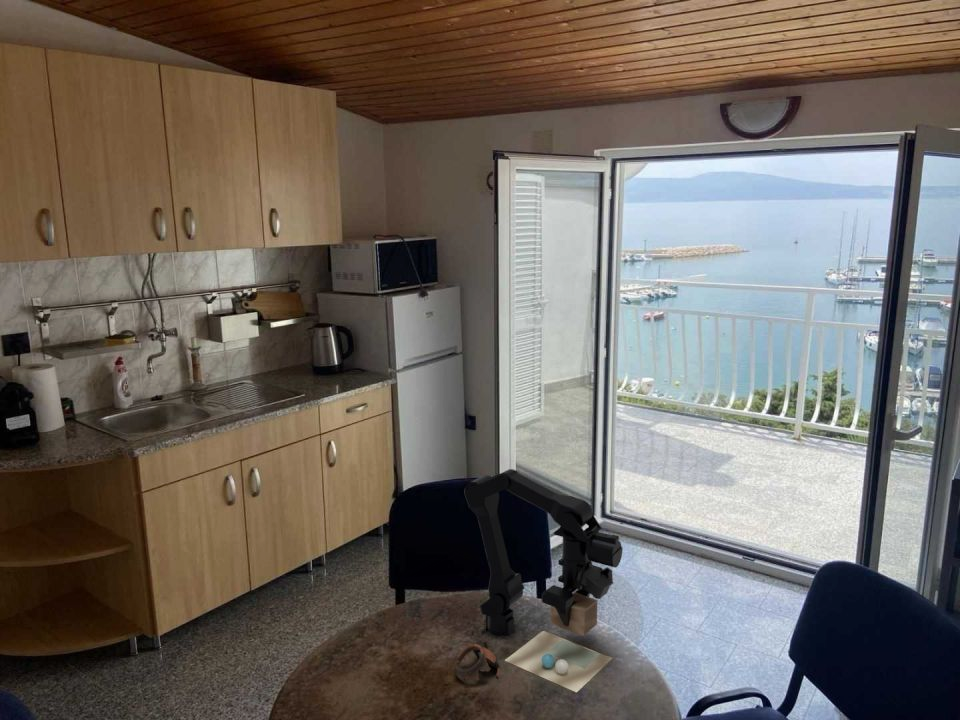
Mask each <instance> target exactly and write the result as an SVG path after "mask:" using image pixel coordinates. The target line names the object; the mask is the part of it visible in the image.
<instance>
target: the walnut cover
mask: <svg viewBox="0 0 960 720" xmlns="http://www.w3.org/2000/svg"><path fill="white" fill-rule="evenodd" d="M573 595H574V601H575V602H577V603H576V604H575V605H573V606H572V607H571V614H570V621H569V626H565V625H563V623H562V620H561V618H560V616H559V614H558V612H557V610H556V608H555V607H553V606H550V624H551V625H554V626H557V627H558V628H561V629H563V630H567V631H569V632H571V633H574V634H577V635H580V636H582V637H583V636H585V635H586V634H587V633H589V632H590V631H591V630H592V629H593V628H595V627H596V626H597V624H598V600H599V599H596V598H594V597H593V598H592V597H590V596H589V597H587V596H584V595H581V594H578V593H575V592H574V593H573Z"/></svg>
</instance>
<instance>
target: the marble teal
mask: <svg viewBox="0 0 960 720" xmlns="http://www.w3.org/2000/svg"><path fill="white" fill-rule="evenodd" d="M541 662H542V665H543V666H544V667H546V668H551V667H552V666H553V665H554V663H555V659H554V657H553V656H552V655H551V654H545V655H543V657H542V659H541Z"/></svg>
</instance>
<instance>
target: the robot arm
mask: <svg viewBox="0 0 960 720" xmlns="http://www.w3.org/2000/svg"><path fill="white" fill-rule="evenodd" d="M504 490H505V491H508V493H509V492H510V493H511V494H513V495H515V496H516V497H518V498H520V499H522V500H524V501H526V502H528V503H530V504H531V505H534V506H535V507H537V508H538V509H541V510H542V511H544V512H546V513H547V514H548V515H550V517H551V519H553V521H554V522H555V523H556V524H557V525H559V528H557V529H556V530H555V531H554V532H553V535H555V536H558V537H561V538H562V551H561V552H562V553H561V555H562V557H561V558H560V559H559V560H558V565H559V566H561V575H559V576H558V577H557V580H558V581H557V582H559V583H562V587H561V586H557V585H554V584H553V585H552V586H549V587H548V588H547V589H545V590H544V591H543V592H542V593H541V602H542V603H543V604H546V605H548V606H550V607H551V606H553V607H555V608H556V610H557V612H558V614H559V616H560V618H561V620H562V623H563V625H565V626H569V621H570V614H571V607H572V606H573V605H575V604H576V603H577V602H575V601H574V595H573V593H574V592H575V593H578V594H581V595H584V596H587V597H590V595H592V597H593V599H596V600H600V599H602V598H603V596H605V595H607V594H608V591H609V589H610V587H611V586H612V585H613V584H614V581H613V580H614V579H613V577H614V576H613V570H612V569H611V568H612V567H613V568H617V567H619V565H620V563H621V560H622V556H623V546H622V543H621V541H620V539H619V538H620V536H619V535H616V534H607V533H604V532H600V531H602V527H601V525H600V523H599V521H598V520H597V519H596V517H595V515H594V513H593V510H592V508H591V504H590V503H588V501H586V500H584V499H581V498H578V497H575V496H571V495H563V494H559V493H557V492H555V491H553V490H552V489H549V488H547V487H545V486H543V485H541V484H539V483H537V482H535V481H533V480H531V479H530V478H528V477H525V475H522V474H520V473H519V472H518V471H517V470H515V469H513V468H510V469H509V468H508V469H506V470H505V471H503V472H501V473H500V472H499V473H498V474H496V475H493V476H490V475H486V474H484V475H482V476H479V477H478V478H476V479H474V480H471V481H470V482H469V483H467V485H466V486H465V487H464V490H463V491H464V496H465V497H464V498H465V499H466V501H467V502H466V503H467V505H468V508H469V509H470V510H471V512H473V514H474V515H475V516H476V518H477V520H478V525H479V529H480V533H481V537H482V542H483V546H484V551H485V554H486V559H487V563H488V567H489V571H490V576H489V577H490V578H489V583H488V596H489V597H488V599H486V601H485V602H483V603H482V604H481V605H480V610H481V613H482V615H484V616H485V628H484V629H483V630H481V635H484V634H485V633H487V632H488V633H490V634H491V635H493V636H503V637H510V636H511V635H513V633H515V617H514V609H512V607H514V606H515V605H516V604H517V602H518V601H520V600H521V599H522V596H523V594H524V590H525V587H524V585H523V581H522V574H521V573H520V572H519V573H515V571H514V570H513V569H512V568H511V566H510V562H509V558H508V554H507V553H508V552H507V549H506V545H505V540H504V536H503V532H502V528H501V527H502V526H501V523H500V520H499V514H498V507H499V506H498V505H499V501H500V492H502V491H504ZM586 525H587V526H588V527H585V526H586ZM583 527H585V529H584V528H583ZM593 563H595V564H600V565H603V566H608V567H605V568H603V567H601V566H597V565H593ZM610 567H611V568H610Z"/></svg>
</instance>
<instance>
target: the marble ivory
mask: <svg viewBox="0 0 960 720" xmlns="http://www.w3.org/2000/svg"><path fill="white" fill-rule="evenodd" d="M568 668H569V666H568V663H567V662H566V661H565V660H563V659H560V660H558V661H557V662H556V664H555V669H556V671H557V672H558V673H560V674H564V673H566V672H567V671H568Z"/></svg>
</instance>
